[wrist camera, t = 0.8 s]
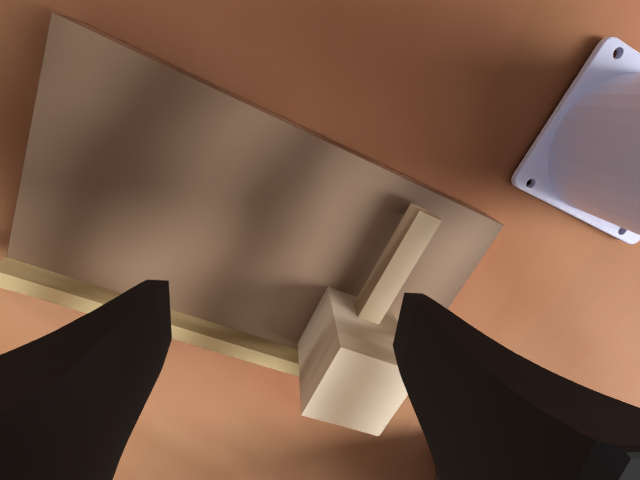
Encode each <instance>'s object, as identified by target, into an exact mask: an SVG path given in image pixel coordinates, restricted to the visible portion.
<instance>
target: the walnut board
mask: <svg viewBox="0 0 640 480" xmlns="http://www.w3.org/2000/svg"><path fill="white" fill-rule="evenodd" d="M411 203H413V204H415V205H417V206H420V207H422V208H424V209H426V210H428V211H431V212H433V213H434V214H435V215H436V216H437V217H438V218H440V219H441V220H442V222H441V223H440V225H439V227H438V228H437V230H436V232H435V233H434V235H433V236H432V238H431V240H430V241H429V243H428V245H427V246H426V248H425V250H424V251H423V253H422V255H421V256H420V258H419V259H418V261H417V263H416V264H415V266H414V268H413V269H412V271H411V273H410V274H409V276H408V278H407V279H406V281H405V283H404V284H403V286H402V287H401V289H400V291H399V292H398V294H397V296H396V297H395V299H394V301H393V302H392V304H391V306H390V307H389V309H390V310H392V312H393V314H394V316H395V318H396V320H397V322H398V319H399V314H400V310H401V305H402V300H403V296H404V293H423V294H425V295H427V296H428V297H430V298H432V299H433V300H435V301H436V302H438V303H439V304H441V305H442V306H443V307H445V308H446V309H448V308H449V306H450V305H451V303H452V302H453V300H454V299H455V297H456V296H457V294H458V293H459V291H460V290H461V288H462V287H463V285H464V284H465V282H466V281H467V280H468V278H469V277H470V275H471V274H472V272H473V271H474V269H475V268H476V266H477V265H478V263H479V262H480V260H481V259H482V257H483V256H484V254H485V253H486V251H487V250H488V248H489V247H490V245H491V244H492V242H493V241H494V239H495V238H496V236H497V235H498V233H499V232H500V230H501V229H502V227H503V226H504V225H503V224H501V223H499V222H498V221H496V220H495V219H493V218H492V217H490V216H488V215H487V214H485V213H483V212H481V211H479V210H477V209H475V208H473V207H471V206H469V205H467V204H464V203H462V202H460V201H458V200H456V199H454V198H452V197H450V196H448V195H445V194H443V193H441V192H439V191H437V190H435V189H433V188H431V187H429V186H426V185H424V184H422V183H420V182H418V181H416V180H414V179H412V178H410V177H407V176H405V175H403V174H401V173H399V172H397V171H395V170H393V169H391V168H388V167H386V166H384V165H382V164H380V163H378V162H376V161H374V160H372V159H369V158H367V157H365V156H363V155H361V154H359V153H357V152H355V151H353V150H350V149H348V148H346V147H344V146H342V145H340V144H338V143H336V142H334V141H332V140H329V139H327V138H325V137H323V136H321V135H319V134H317V133H315V132H313V131H310V130H308V129H306V128H304V127H302V126H300V125H298V124H296V123H294V122H291V121H289V120H287V119H285V118H283V117H281V116H279V115H277V114H275V113H272V112H270V111H268V110H266V109H264V108H262V107H260V106H258V105H256V104H253V103H251V102H249V101H247V100H245V99H243V98H241V97H239V96H237V95H234V94H232V93H230V92H228V91H226V90H224V89H222V88H220V87H218V86H215V85H213V84H211V83H209V82H207V81H205V80H203V79H201V78H199V77H197V76H194V75H192V74H190V73H188V72H186V71H184V70H182V69H180V68H178V67H175V66H173V65H171V64H169V63H167V62H165V61H163V60H161V59H159V58H156V57H154V56H152V55H150V54H148V53H146V52H144V51H142V50H140V49H137V48H135V47H133V46H131V45H129V44H127V43H125V42H123V41H121V40H118V39H116V38H114V37H112V36H110V35H108V34H106V33H104V32H102V31H99V30H97V29H95V28H93V27H91V26H89V25H87V24H85V23H83V22H80V21H78V20H75V19H72V18H69V17H65V16H62V15H59V14H56V13H53V12H52V14H51V20H50V25H49V30H48V36H47V41H46V47H45V52H44V57H43V63H42V68H41V74H40V79H39V84H38V90H37V95H36V101H35V106H34V111H33V117H32V122H31V127H30V133H29V138H28V144H27V149H26V154H25V160H24V165H23V171H22V176H21V181H20V187H19V192H18V198H17V203H16V208H15V214H14V219H13V224H12V230H11V235H10V241H9V246H8V251H7V257H6V258H4V259H3V260H1V261H0V288H4V289H7V290H10V291H14V292H17V293H20V294H24V295H27V296H30V297H34V298H37V299H40V300H44V301H47V302H51V303H54V304H57V305H61V306H64V307H67V308H71V309H74V310H77V311H81V312H84V313H87V314H88V313H90V312H91V311H93V310H95V309H97V308H98V307H100V306H102V305H104V304H105V303H107V302H109V301H110V300H112V299H114V298H116V297H117V296H119V295H121V294H122V293H124V292H126V291H127V290H129V289H131V288H132V287H134V286H136V285H138V284H139V283H141V282H143V281H145V280H147V279H148V280H168V281H169V293H170V311H171V330H172V339H174V340H178V341H181V342H184V343H188V344H191V345H194V346H198V347H201V348H205V349H208V350H211V351H215V352H218V353H221V354H225V355H228V356H231V357H235V358H238V359H241V360H245V361H248V362H251V363H255V364H258V365H261V366H265V367H268V368H271V369H275V370H278V371H282V372H285V373H288V374H292V375H295V376H298V377H299V359H298V342H299V340H300V338H301V336H302V334H303V332H304V331H305V329H306V327H307V325H308V323H309V321H310V319H311V317H312V315H313V314H314V312H315V310H316V308H317V306H318V304H319V302H320V300H321V298H322V297H323V295H324V293H325V291H326V289H327V287H331V288H333V289H336V290H339V291H342V292H344V293H347V294H350V295H352V296H355V297H358V295H359V294H360V292H361V290H362V288H363V287H364V285H365V283H366V281H367V280H368V278H369V276H370V274H371V273H372V271H373V269H374V267H375V265H376V264H377V262H378V260H379V258H380V257H381V255H382V253H383V251H384V250H385V248H386V246H387V244H388V243H389V241H390V239H391V237H392V235H393V234H394V232H395V230H396V228H397V227H398V225H399V223H400V221H401V220H402V218H403V216H404V214H405V213H406V211H407V209H408V207H409V206H410V204H411Z"/></svg>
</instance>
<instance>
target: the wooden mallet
mask: <svg viewBox="0 0 640 480" xmlns="http://www.w3.org/2000/svg"><path fill="white" fill-rule="evenodd" d="M441 222H442V220H441V219H440V218H438V217H437V216H436V215H435V214H434V213H433V212H431V211H428V210H426V209H424V208H422V207H420V206H417V205H415V204H413V203H411V204H410V206H409V207H408V209H407V211H406V213H405V214H404V216H403V218H402V220H401V221H400V223H399V225H398V227H397V228H396V230H395V232H394V234H393V235H392V237H391V239H390V241H389V243H388V244H387V246H386V248H385V250H384V251H383V253H382V255H381V257H380V258H379V260H378V262H377V264H376V265H375V267H374V269H373V271H372V273H371V274H370V276H369V278H368V280H367V281H366V283H365V285H364V287H363V288H362V290H361V292H360V294H359V295H358V297H355V296H352V295H350V294H347V293H344V292H342V291H339V290H336V289H333V288H331V287H327V289H326V291H325V293H324V295H323V297H322V298H321V300H320V302H319V304H318V306H317V308H316V310H315V312H314V314H313V315H312V317H311V319H310V321H309V323H308V325H307V327H306V329H305V331H304V332H303V334H302V336H301V338H300V340H299V342H298V359H299V380H300V400H301V415H302V416H306V417H310V418H313V419H317V420H321V421H324V422H328V423H332V424H335V425H339V426H343V427H346V428H350V429H354V430H357V431H361V432H365V433H368V434H372V435H376V436H379V435H380V434H381V433H382V431H383V430H384V428H385V427H386V425H387V424H388V422H389V421H390V420H391V418H392V417H393V415H394V414H395V412H396V411H397V409H398V408H399V407H400V405H401V404H402V402H403V401H404V399H405V398H406V396H407V395H408V393H407V391H406V388H405V386H404V383H403V381H402V378H401V376H400V373H399V369H398V365H397V362H396V357H395V353H394V349H393V341H394V337H395V332H396V328H397V323H398V322H397V320H396V318H395V316H394V314H393V312H392V310H390V309H389V307H390V306H391V304H392V302H393V301H394V299H395V297H396V296H397V294H398V292H399V291H400V289H401V287H402V286H403V284H404V283H405V281H406V279H407V278H408V276H409V274H410V273H411V271H412V269H413V268H414V266H415V264H416V263H417V261H418V259H419V258H420V256H421V255H422V253H423V251H424V250H425V248H426V246H427V245H428V243H429V241H430V240H431V238H432V236H433V235H434V233H435V232H436V230H437V228H438V227H439V225H440V223H441Z"/></svg>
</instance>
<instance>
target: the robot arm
mask: <svg viewBox="0 0 640 480" xmlns="http://www.w3.org/2000/svg"><path fill="white" fill-rule="evenodd" d="M615 49H616V50H617V54H616V56H615V57H613V52H614V50H615ZM529 179H531V183H530V184H529V185H528V186H526V183H527V181H528V180H529ZM511 182H512V185H514V186H515V187H517V188H519V189H521V190H523V191H525V192H527V193H529V194H531V195H533V196H535V197H537V198H538V199H540V200H542V201H544V202H546V203H548V204H550V205H552V206H554V207H556V208H558V209H560V210H562V211H564V212H566V213H568V214H570V215H572V216H574V217H576V218H578V219H580V220H582V221H584V222H586V223H588V224H590V225H592V226H594V227H596V228H598V229H600V230H602V231H603V232H605V233H607V234H609V235H611V236H613V237H615V238H617V239H619V240H621V241H623V242H625V243H627V244H634V243H636V242H638V241H639V240H640V53H639V52H637V51H636V50H634V49H633V48H631V47H630V46H628V45H627V44H626V43H624V42H623V41H621V40H620V39H618V38H617V37H607V38H604V39H602V40H601V41H600V42H599V43H598V44H597V46H596V47H595V49H594V50H593V52H592V53H591V55H590V56H589V58H588V60H587V61H586V63H585V64H584V66H583V67H582V69H581V70H580V72H579V73H578V75H577V77H576V78H575V80H574V81H573V83H572V84H571V86H570V87H569V89H568V90H567V92H566V94H565V95H564V97H563V98H562V100H561V101H560V103H559V104H558V106H557V107H556V109H555V110H554V112H553V114H552V115H551V117H550V118H549V120H548V121H547V123H546V124H545V126H544V127H543V129H542V131H541V132H540V134H539V135H538V137H537V138H536V140H535V141H534V143H533V144H532V146H531V148H530V149H529V151H528V152H527V154H526V155H525V157H524V158H523V160H522V161H521V163H520V165H519V166H518V168H517V169H516V171H515V172H514V174H513V176H512V178H511ZM620 228H621V229H620ZM619 229H620V231H619ZM171 339H172V330H171V311H170V293H169V281H168V280H148V279H147V280H145V281H143V282H141V283H139V284H138V285H136V286H134V287H132V288H131V289H129V290H127V291H126V292H124V293H122V294H121V295H119V296H117V297H116V298H114V299H112V300H110V301H109V302H107V303H105V304H104V305H102V306H100V307H98V308H97V309H95V310H93V311H91V312H90V313H88V314H86V315H84V316H82V317H80V318H78V319H76V320H75V321H73V322H71V323H69V324H67V325H65V326H63V327H61V328H60V329H58V330H56V331H54V332H52V333H50V334H47V335H45V336H43V337H41V338H39V339H37V340H34V341H32V342H30V343H28V344H25V345H23V346H21V347H18V348H16V349H14V350H11V351H9V352H7V353H4V354H1V355H0V480H112V479H113V477H114V474H115V471H116V468H117V466H118V463H119V460H120V458H121V455H122V453H123V450H124V448H125V446H126V443H127V441H128V439H129V437H130V434H131V432H132V430H133V428H134V426H135V424H136V422H137V420H138V418H139V416H140V414H141V412H142V410H143V408H144V405H145V403H146V401H147V399H148V397H149V395H150V393H151V391H152V389H153V387H154V385H155V382H156V380H157V378H158V376H159V374H160V372H161V370H162V367H163V364H164V361H165V358H166V355H167V352H168V349H169V346H170V343H171ZM393 349H394V353H395V357H396V362H397V365H398V369H399V373H400V376H401V378H402V381H403V383H404V386H405V388H406V391H407V393H408V396H409V398H410V401H411V403H412V406H413V408H414V411H415V413H416V415H417V418H418V420H419V423H420V425H421V428H422V430H423V433H424V435H425V437H426V440H427V443H428V446H429V448H430V451H431V454H432V457H433V460H434V464H435V467H436V471H437V474H438V477H439V480H640V408H639V407H636V406H633V405H630V404H628V403H625V402H622V401H620V400H617V399H614V398H612V397H609V396H606V395H604V394H601V393H599V392H596V391H594V390H591V389H589V388H586V387H584V386H582V385H579V384H577V383H575V382H573V381H570V380H568V379H566V378H564V377H562V376H559V375H557V374H555V373H553V372H551V371H549V370H547V369H545V368H543V367H541V366H539V365H537V364H535V363H533V362H531V361H529V360H527V359H525V358H523V357H522V356H520V355H518V354H516V353H514V352H513V351H511V350H509V349H507V348H506V347H504V346H502V345H501V344H499V343H497V342H496V341H494V340H493V339H491V338H489V337H488V336H486V335H485V334H483V333H482V332H480V331H478V330H477V329H475V328H474V327H472V326H471V325H470V324H468V323H467V322H465V321H464V320H462V319H461V318H459V317H458V316H456V315H455V314H454V313H452V312H451V311H449V310H448V309H446V308H445V307H443V306H442V305H441V304H439V303H438V302H436V301H435V300H433V299H432V298H430V297H428V296H427V295H425V294H423V293H404V296H403V300H402V305H401V310H400V314H399V319H398V323H397V328H396V332H395V337H394V341H393Z"/></svg>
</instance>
